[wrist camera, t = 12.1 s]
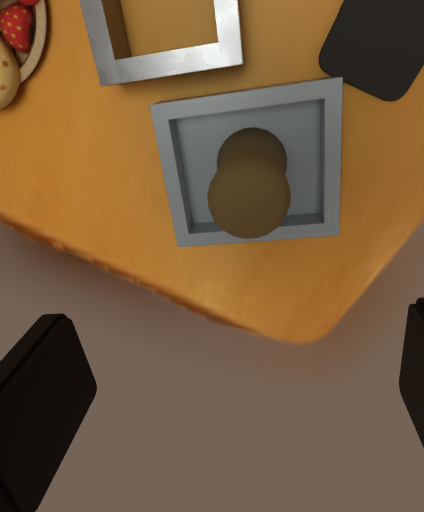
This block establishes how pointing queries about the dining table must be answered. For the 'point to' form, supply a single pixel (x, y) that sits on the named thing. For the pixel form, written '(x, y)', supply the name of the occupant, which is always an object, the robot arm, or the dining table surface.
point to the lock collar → (163, 63)
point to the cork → (250, 184)
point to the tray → (265, 117)
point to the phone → (376, 46)
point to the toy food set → (19, 43)
